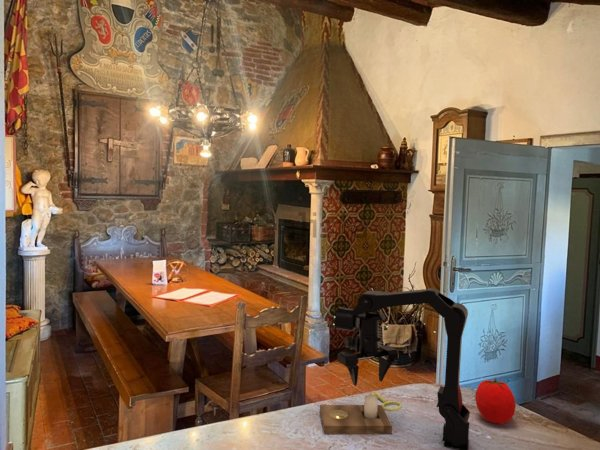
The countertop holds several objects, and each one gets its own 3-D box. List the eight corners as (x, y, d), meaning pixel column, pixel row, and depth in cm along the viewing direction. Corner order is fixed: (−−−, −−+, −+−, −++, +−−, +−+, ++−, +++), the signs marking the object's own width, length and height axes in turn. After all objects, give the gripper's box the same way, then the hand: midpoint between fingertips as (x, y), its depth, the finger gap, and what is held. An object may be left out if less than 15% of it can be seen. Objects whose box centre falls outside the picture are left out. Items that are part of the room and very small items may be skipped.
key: (374, 396, 167) (374, 390, 167) (404, 408, 158) (404, 402, 158) (361, 402, 162) (361, 396, 162) (391, 414, 153) (392, 408, 153)
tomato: (504, 434, 141) (506, 390, 140) (466, 418, 150) (468, 378, 149) (522, 423, 148) (524, 382, 147) (485, 409, 158) (487, 370, 157)
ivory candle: (378, 421, 147) (379, 396, 147) (375, 427, 143) (376, 401, 143) (365, 418, 149) (366, 393, 148) (362, 424, 145) (363, 398, 144)
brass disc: (350, 412, 147) (350, 412, 147) (344, 420, 141) (344, 420, 141) (332, 409, 149) (332, 408, 149) (325, 417, 144) (325, 416, 144)
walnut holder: (381, 412, 153) (381, 405, 153) (391, 434, 139) (392, 425, 139) (319, 412, 152) (320, 404, 152) (324, 434, 138) (324, 425, 138)
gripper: (379, 323, 155) (378, 370, 156) (329, 329, 147) (328, 378, 148) (400, 332, 145) (399, 382, 146) (347, 339, 137) (346, 391, 138)
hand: (367, 383), depth 145 cm, fingers open, 9 cm apart
